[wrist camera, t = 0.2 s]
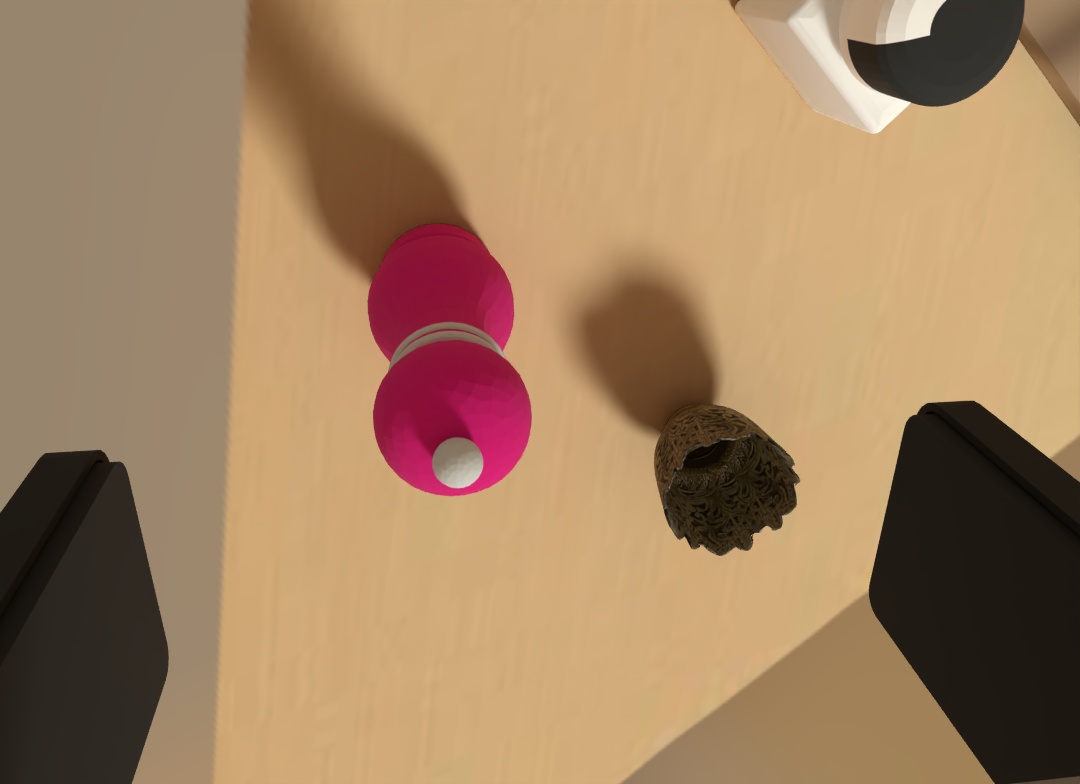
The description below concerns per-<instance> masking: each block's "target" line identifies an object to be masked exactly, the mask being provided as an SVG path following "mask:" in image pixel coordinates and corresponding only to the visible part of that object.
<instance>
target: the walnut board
mask: <svg viewBox="0 0 1080 784" xmlns="http://www.w3.org/2000/svg"><path fill="white" fill-rule="evenodd" d="M1018 39H1019V40H1020V41H1021V43H1022V44H1023V46H1024V47H1025V49H1026V50H1027V51H1028V53H1029V54H1030V56H1031V57H1032V58H1033V60H1034V61H1035V63H1036V64H1037V66H1038V67H1039V68H1040V70H1041V71H1042V73H1043V74H1044V76H1045V77H1046V78H1047V80H1048V81H1049V83H1050V84H1051V86H1052V87H1053V88H1054V90H1055V91H1056V93H1057V94H1058V96H1059V97H1060V98H1061V100H1062V101H1063V103H1064V104H1065V106H1066V107H1067V108H1068V110H1069V111H1070V113H1071V114H1072V116H1073V117H1074V118H1075V120H1076V121H1077V123H1078V124H1079V126H1080V0H1025V11H1024V18H1023V24H1022V28H1021V31H1020V35H1019V38H1018Z"/></svg>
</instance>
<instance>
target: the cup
mask: <svg viewBox="0 0 1080 784" xmlns="http://www.w3.org/2000/svg"><path fill="white" fill-rule="evenodd" d="M794 465H795V463H794V461H793V459H792V458H791V456H790V455H789V454H787V453H786V451H785V450H784V449H783V448H782V447H781V446H779V445H778V444H777V443H776V442H775V441H774V440H773V439H772V438H771V437H770V436H768V435H767V434H766V433H765V432H764V431H763V430H762V429H761V428H760V427H759V426H758V425H756V424H755V423H754V422H753V421H751V420H750V419H749V418H747V417H746V416H744V415H743V414H741V413H739V412H737V411H735V410H733V409H731V408H727V407H723V406H717V405H705V406H701V405H690V406H686V407H683V408H681V409H679V410H678V411H677V412H675V413H674V414H673V415H672V416H671V417H670V419H669V420H668V422H667V425H666V428H665V429H664V430H663V432H662V433H661V435H660V437H659V439H658V442H657V445H656V449H655V455H654V469H655V476H656V481H657V485H658V489H659V493H660V497H661V501H662V505H663V509H664V513H665V516H666V519H667V522H668V524H669V527H670V528H671V529H672V531H673V532H674V534H675V536H676V537H677V538H678V539H679V540H681V539H682V538H683V537H684V536H685V538H686V539H687V541H688V543H689V545H690V547H691V548H692V549H697V548H699V547H700V545H702V546H704V547H705V548H706V549H707V550H708V551H710V552H712V553H714V554H716V555H718V556H722V555H725V554H727V553H728V552H729V551H731V550H732V549H733V548H735V547H737V548H738V549H740V550H744V551H748V550H750V549H751V547H752V544H753V539H752V538H753V535H752V534H754V533H761V531H762V528H764V527H765V526H769V527H771V528H772V530H774V531H775V530H778V529H780V528H781V527H782V523H783V521H782V516H783V515H787V514H789V513H790V512H791V511H793V509H794V508H795V507H796V505H797V499H796V492H795V489H794V483H796V484H795V485H797V484H798V483H799V482H800V479H799V477H798V475H797V474H796V473H795V472H794V471H793V469H792V468H791V467H792V466H794ZM751 535H752V536H751ZM751 541H752V542H751ZM699 544H700V545H699Z"/></svg>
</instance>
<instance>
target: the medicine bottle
mask: <svg viewBox="0 0 1080 784" xmlns="http://www.w3.org/2000/svg"><path fill="white" fill-rule="evenodd" d="M735 11H736V14H737V15H738V17H739V18H740V19H741V20H742V22H743V23H744V24H745V25H746V27H747V28H748V29H749V31H750V32H751V33H752V34H753V36H754V37H755V38H756V40H757V41H758V42H759V43H760V45H761V46H762V47H763V48H764V50H765V51H766V52H767V54H768V55H769V56H770V57H771V59H772V60H773V61H774V63H775V64H776V65H777V66H778V68H779V69H780V70H781V71H782V73H783V74H784V75H785V77H786V78H787V79H788V80H789V82H790V83H791V84H792V86H793V87H794V88H795V89H796V91H797V92H798V93H799V95H800V96H801V97H802V98H803V100H804V101H805V102H806V103H807V105H808V106H809V107H810V109H812V110H813V111H816V112H818V113H821V114H823V115H826V116H828V117H831V118H833V119H836V120H838V121H841V122H843V123H846V124H848V125H851V126H853V127H856V128H858V129H861V130H864V131H866V132H869V133H878V132H880V131H881V130H882V129H883V128H884V127H885V126H886V125H887V124H888V123H890V122H891V121H892V120H893V119H894V118H895V117H896V116H897V115H898V114H899V113H900V112H901V111H903V110H904V109H905V108H906V107H907V106H908V105H909V104H910V103H914V104H918V105H923V106H944V105H949V104H953V103H956V102H959V101H961V100H963V99H966V98H968V97H970V96H971V95H973V94H975V93H976V92H978V91H979V90H980V89H982V88H983V87H984V86H986V85H987V84H988V83H989V82H990V81H991V80H992V79H993V78H994V77H995V76H996V75H997V73H998V72H999V71H1000V70H1001V69H1002V67H1003V66H1004V64H1005V63H1006V61H1007V60H1008V59H1009V57H1010V55H1011V53H1012V51H1013V49H1014V47H1015V45H1016V43H1017V40H1018V38H1019V35H1020V31H1021V28H1022V24H1023V18H1024V11H1025V0H740V1H739V2H738V3H737V4H736V6H735Z"/></svg>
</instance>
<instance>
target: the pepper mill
mask: <svg viewBox="0 0 1080 784" xmlns="http://www.w3.org/2000/svg"><path fill="white" fill-rule="evenodd" d="M368 315H369V321H370V327H371V331H372V333H373V336H374V339H375V341H376V343H377V345H378V346H379V348H380V350H381V351H382V352H383V354H384V355H385V356H386V358H387V359H388V360H389V361H390V366H389V370H388V373H387V374H386V376H385V377H384V379H383V380H382V382H381V384H380V387H379V389H378V392H377V395H376V399H375V404H374V410H373V422H374V431H375V436H376V440H377V443H378V446H379V449H380V451H381V453H382V455H383V456H384V458H385V460H386V462H387V464H388V465H389V466H390V467H391V468H392V469H393V470H394V472H395V473H396V474H397V475H398V476H399V477H400V478H401V479H403V480H404V481H406V482H407V483H408V484H410V485H411V486H413V487H415V488H417V489H420V490H422V491H424V492H428V493H432V494H436V495H444V496H460V495H467V494H471V493H475V492H478V491H481V490H484V489H486V488H489V487H491V486H492V485H494V484H495V483H497V482H499V481H500V480H502V479H503V478H504V477H505V476H506V475H507V474H508V473H509V472H510V471H511V470H512V469H513V468H514V467H515V465H516V464H517V462H518V461H519V460H520V458H521V456H522V454H523V452H524V450H525V448H526V446H527V443H528V439H529V435H530V429H531V420H532V414H531V404H530V399H529V395H528V392H527V390H526V387H525V385H524V383H523V381H522V379H521V377H520V375H519V373H518V372H517V371H516V370H515V369H514V368H513V366H512V365H511V364H510V363H509V362H508V361H507V360H506V358H505V356H504V354H503V350H504V348H505V345H506V343H507V341H508V339H509V337H510V334H511V330H512V327H513V320H514V303H513V294H512V289H511V285H510V282H509V280H508V278H507V276H506V274H505V272H504V270H503V269H502V267H501V266H500V264H499V263H498V262H497V261H496V260H495V258H494V257H493V256H491V255H490V253H489V251H488V250H487V248H486V247H485V246H484V245H483V243H482V242H481V241H480V240H479V239H478V238H477V237H475V236H474V235H473V234H471V233H469V232H467V231H466V230H464V229H462V228H459V227H456V226H453V225H448V224H428V225H423V226H420V227H416V228H414V229H412V230H410V231H408V232H406V233H405V234H404V235H402V236H401V237H400V238H398V239H397V240H396V241H395V242H394V243H393V244H392V245H391V247H390V248H389V250H388V251H387V253H386V255H385V257H384V259H383V262H382V265H381V266H380V267H379V269H378V271H377V273H376V274H375V276H374V278H373V281H372V284H371V287H370V290H369V296H368Z"/></svg>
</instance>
